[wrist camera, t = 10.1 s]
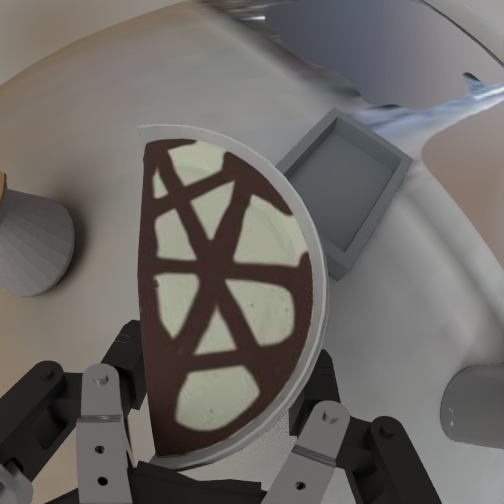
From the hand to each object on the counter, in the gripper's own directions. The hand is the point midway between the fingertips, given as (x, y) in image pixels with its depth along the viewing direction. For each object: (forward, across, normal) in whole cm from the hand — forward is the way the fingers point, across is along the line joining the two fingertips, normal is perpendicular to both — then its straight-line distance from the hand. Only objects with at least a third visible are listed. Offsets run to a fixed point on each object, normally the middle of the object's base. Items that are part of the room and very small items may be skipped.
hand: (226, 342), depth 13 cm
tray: (+26, -9, -2) cm, 27 cm away
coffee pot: (+18, +27, +5) cm, 33 cm away
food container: (+5, 0, +2) cm, 5 cm away
